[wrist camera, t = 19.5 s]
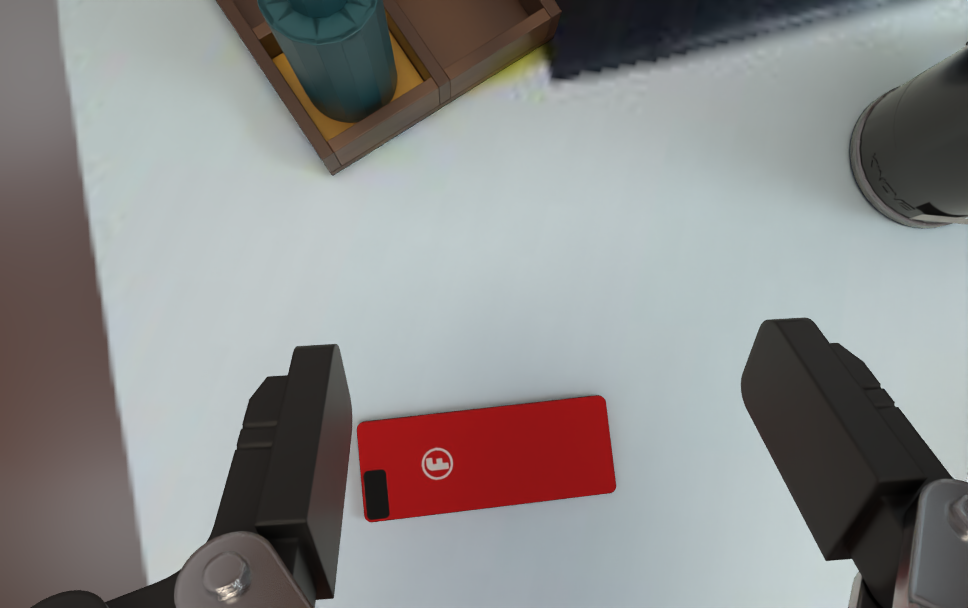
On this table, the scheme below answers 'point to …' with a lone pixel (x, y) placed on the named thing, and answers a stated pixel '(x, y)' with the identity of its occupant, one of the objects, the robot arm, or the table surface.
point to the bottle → (336, 53)
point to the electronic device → (485, 458)
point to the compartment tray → (406, 63)
